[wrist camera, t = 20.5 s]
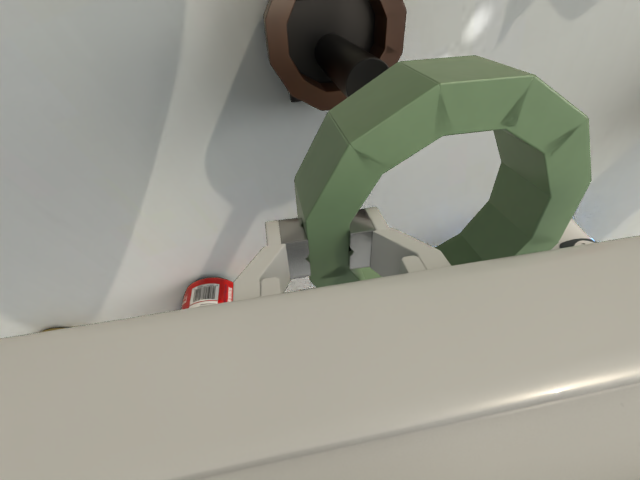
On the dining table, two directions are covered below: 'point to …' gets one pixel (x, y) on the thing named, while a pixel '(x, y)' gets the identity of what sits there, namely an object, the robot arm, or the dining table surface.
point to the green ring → (427, 126)
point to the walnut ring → (328, 95)
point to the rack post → (334, 43)
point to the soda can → (208, 292)
